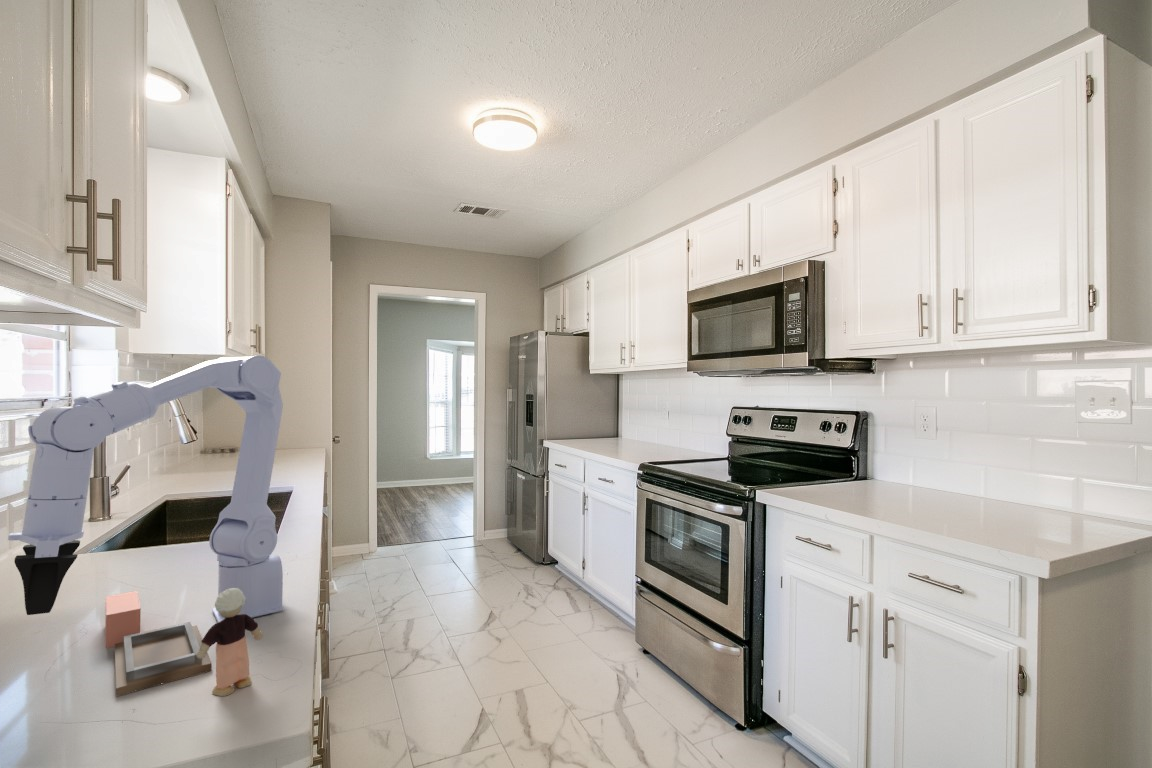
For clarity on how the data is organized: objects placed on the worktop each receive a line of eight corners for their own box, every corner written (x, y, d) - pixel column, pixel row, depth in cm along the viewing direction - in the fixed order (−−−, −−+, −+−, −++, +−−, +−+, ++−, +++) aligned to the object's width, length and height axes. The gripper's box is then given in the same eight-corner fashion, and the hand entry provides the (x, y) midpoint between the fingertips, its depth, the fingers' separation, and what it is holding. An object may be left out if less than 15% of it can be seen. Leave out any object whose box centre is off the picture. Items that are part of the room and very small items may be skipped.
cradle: (196, 631, 88) (196, 617, 88) (211, 670, 75) (211, 654, 75) (114, 650, 81) (114, 635, 81) (116, 696, 69) (116, 678, 69)
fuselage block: (136, 620, 92) (137, 590, 92) (140, 641, 85) (140, 608, 85) (105, 627, 90) (105, 596, 90) (105, 649, 82) (106, 615, 82)
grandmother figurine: (245, 672, 75) (246, 578, 75) (266, 677, 74) (267, 581, 74) (188, 701, 68) (189, 597, 68) (209, 708, 66) (210, 602, 67)
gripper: (21, 493, 75) (4, 596, 74) (7, 504, 64) (-13, 626, 63) (89, 492, 80) (75, 589, 78) (87, 503, 69) (70, 616, 67)
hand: (41, 605), depth 71 cm, fingers open, 7 cm apart
